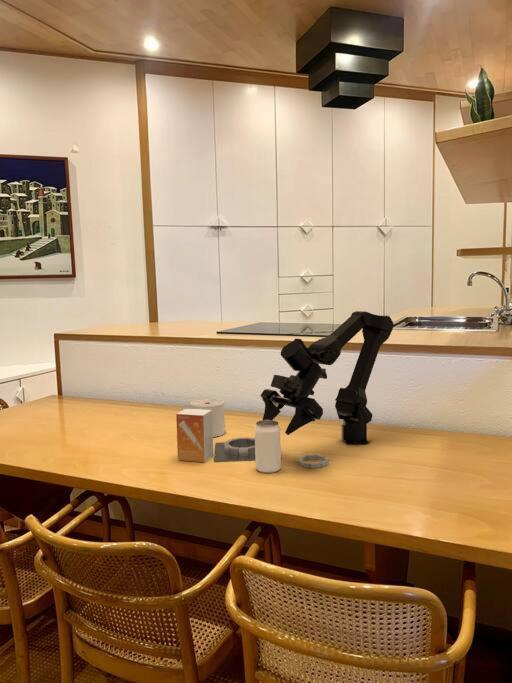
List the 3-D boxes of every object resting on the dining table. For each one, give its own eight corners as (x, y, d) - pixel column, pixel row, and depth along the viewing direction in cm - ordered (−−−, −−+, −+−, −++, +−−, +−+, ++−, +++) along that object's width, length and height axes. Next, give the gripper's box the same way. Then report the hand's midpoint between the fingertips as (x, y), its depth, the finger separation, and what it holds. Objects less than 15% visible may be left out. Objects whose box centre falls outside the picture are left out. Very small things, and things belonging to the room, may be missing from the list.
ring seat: (276, 441, 157) (275, 433, 157) (281, 459, 141) (281, 450, 141) (215, 443, 156) (215, 436, 156) (213, 462, 140) (213, 453, 140)
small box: (177, 460, 142) (175, 413, 141) (187, 453, 148) (185, 407, 147) (205, 463, 140) (203, 415, 138) (214, 455, 146) (212, 409, 144)
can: (271, 475, 129) (270, 427, 128) (250, 470, 133) (249, 424, 132) (286, 467, 135) (285, 421, 133) (265, 463, 138) (264, 418, 137)
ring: (325, 457, 141) (325, 453, 141) (330, 467, 134) (330, 463, 134) (297, 458, 141) (297, 455, 141) (301, 468, 134) (300, 464, 133)
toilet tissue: (232, 432, 168) (231, 401, 167) (204, 441, 159) (202, 409, 158) (209, 427, 175) (208, 397, 174) (181, 435, 166) (179, 404, 165)
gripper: (265, 359, 143) (233, 406, 137) (314, 366, 129) (281, 418, 123) (286, 384, 149) (257, 429, 143) (336, 393, 135) (306, 444, 129)
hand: (274, 430), depth 134 cm, fingers open, 9 cm apart
